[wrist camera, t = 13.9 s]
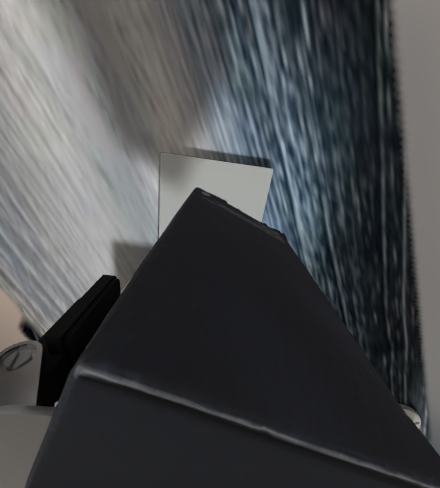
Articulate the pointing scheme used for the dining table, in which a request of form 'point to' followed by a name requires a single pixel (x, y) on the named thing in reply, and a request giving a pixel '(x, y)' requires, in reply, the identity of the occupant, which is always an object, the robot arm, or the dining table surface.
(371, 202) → the dining table surface
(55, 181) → the dining table surface
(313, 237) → the dining table surface
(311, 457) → the small box
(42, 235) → the dining table surface
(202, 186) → the lockout pad
